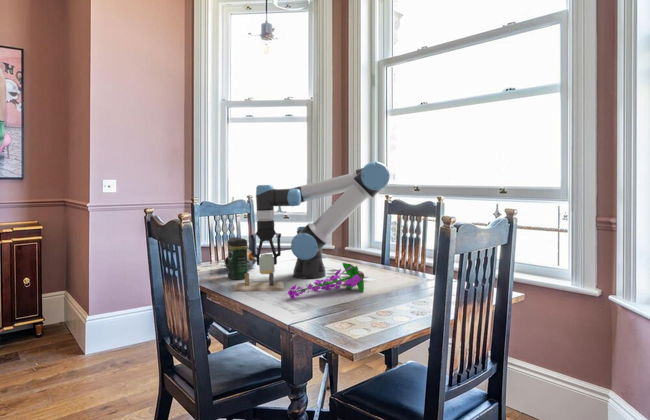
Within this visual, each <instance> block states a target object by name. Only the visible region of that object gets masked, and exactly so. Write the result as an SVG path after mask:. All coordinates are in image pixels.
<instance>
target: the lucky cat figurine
mask: <svg viewBox="0 0 650 420" xmlns="http://www.w3.org/2000/svg"><path fill="white" fill-rule="evenodd" d="M255 264H257V259H256V257H253V256H252V250H250V249H249V248H247V269H248V270H249V269H252V268H253V267H254V265H255ZM224 265H225V269H227V270H228V255H227V256H226V257H225V259H224Z"/></svg>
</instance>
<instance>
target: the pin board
mask: <svg viewBox="0 0 650 420" xmlns="http://www.w3.org/2000/svg"><path fill="white" fill-rule="evenodd" d="M274 274H275V272H274V273H269V274H268V277H269V278H268V282H267V281H266V282H265V281H262V282H259V281H258V282H255V281H254V282H250V273H249V272H248V273H245V278H244V282H235V285H234V286H233V289H232V291H233V292H256V291H257V292H258V291H260V292H262V291H263V292H264V291H265V292H266V291H267V292H268V291H270V292H271V291H284V281H275V279H274Z"/></svg>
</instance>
